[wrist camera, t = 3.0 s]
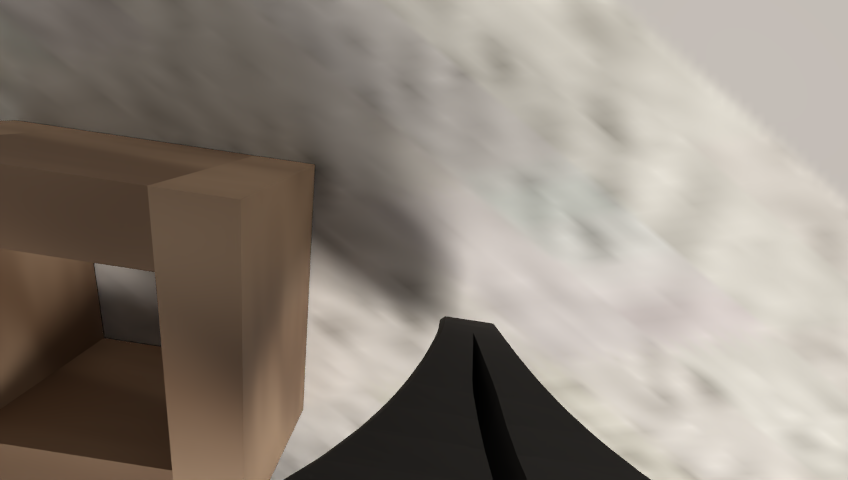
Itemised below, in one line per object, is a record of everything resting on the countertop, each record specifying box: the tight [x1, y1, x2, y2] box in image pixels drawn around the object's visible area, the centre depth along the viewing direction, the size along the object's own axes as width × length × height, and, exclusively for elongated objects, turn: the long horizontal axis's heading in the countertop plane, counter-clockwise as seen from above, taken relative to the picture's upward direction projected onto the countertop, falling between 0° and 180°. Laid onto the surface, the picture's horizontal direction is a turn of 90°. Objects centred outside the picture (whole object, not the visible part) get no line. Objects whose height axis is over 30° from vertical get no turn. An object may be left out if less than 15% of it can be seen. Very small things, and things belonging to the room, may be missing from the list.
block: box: [0, 120, 315, 480], centre depth 10 cm, size 8×8×4 cm
